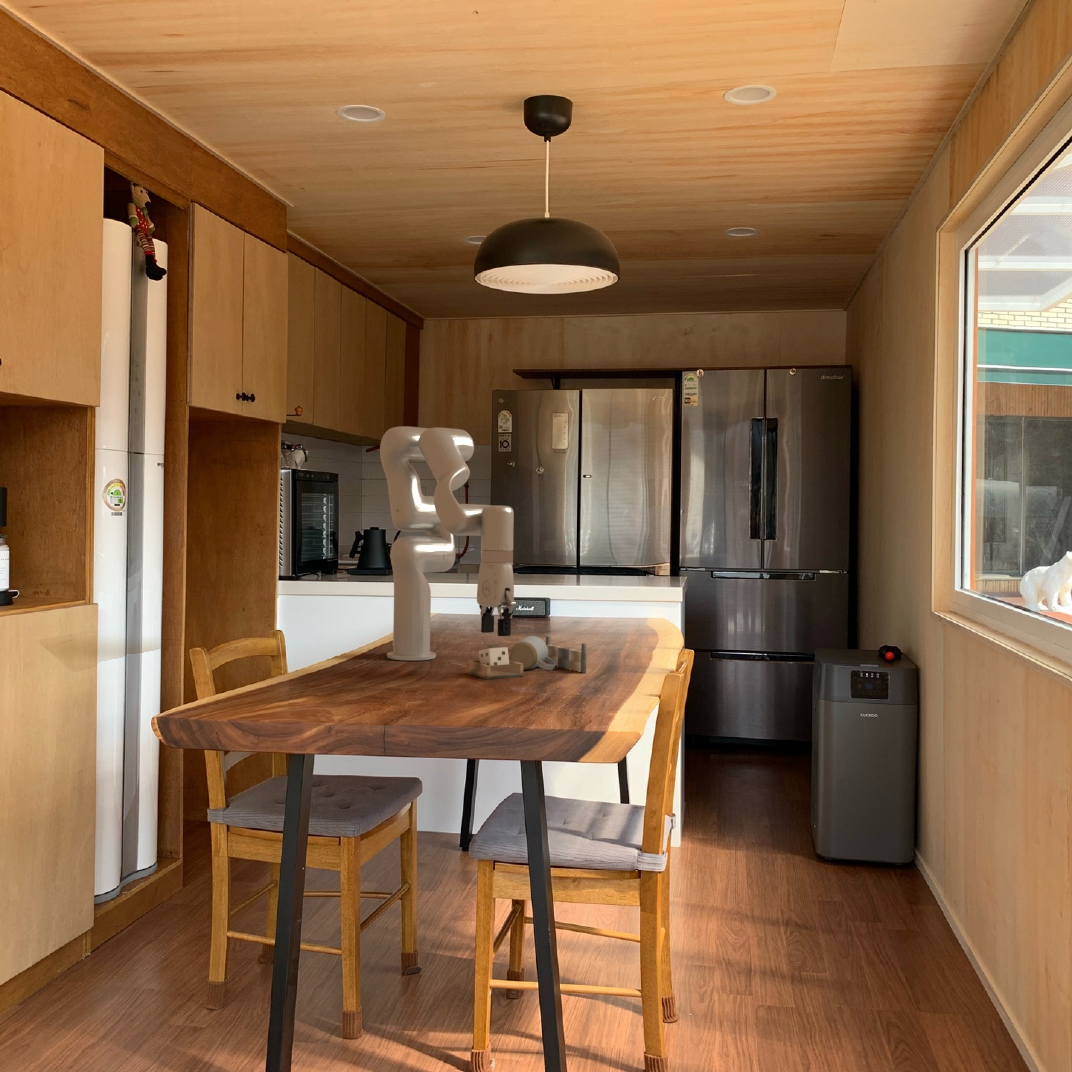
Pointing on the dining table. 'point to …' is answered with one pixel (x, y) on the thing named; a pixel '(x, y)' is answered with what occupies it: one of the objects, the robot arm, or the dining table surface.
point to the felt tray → (495, 670)
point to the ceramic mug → (532, 654)
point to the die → (494, 656)
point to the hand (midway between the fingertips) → (495, 633)
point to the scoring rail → (567, 656)
